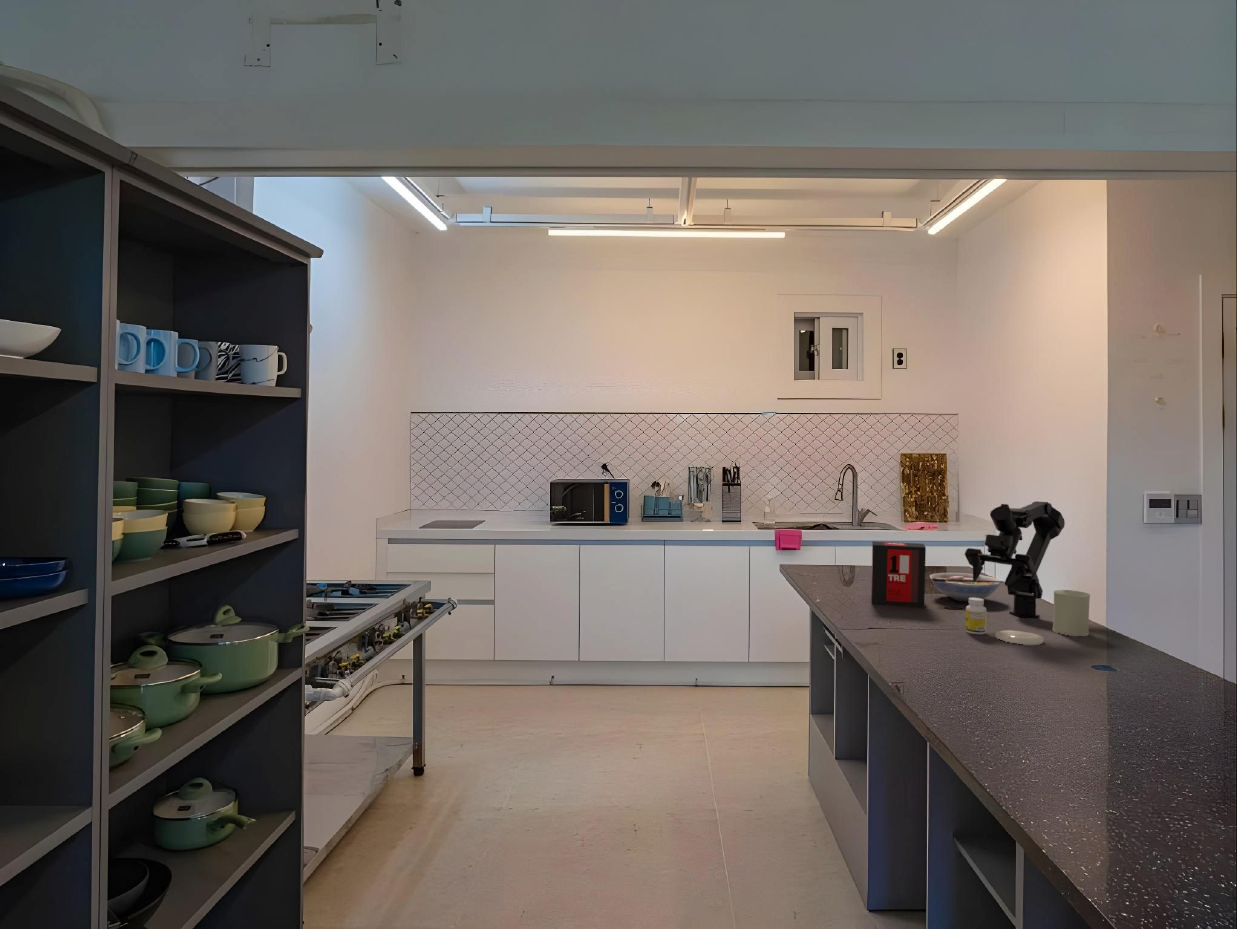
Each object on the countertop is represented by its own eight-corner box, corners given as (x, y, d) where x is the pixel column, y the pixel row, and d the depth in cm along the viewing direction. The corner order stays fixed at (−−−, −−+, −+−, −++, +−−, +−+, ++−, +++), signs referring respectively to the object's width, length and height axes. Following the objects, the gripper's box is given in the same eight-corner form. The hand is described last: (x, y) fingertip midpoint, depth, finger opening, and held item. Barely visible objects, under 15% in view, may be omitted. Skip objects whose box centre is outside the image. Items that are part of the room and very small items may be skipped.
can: (1079, 629, 230) (1080, 588, 229) (1095, 637, 221) (1096, 595, 220) (1046, 628, 231) (1047, 587, 230) (1061, 636, 222) (1062, 594, 221)
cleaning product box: (922, 601, 266) (923, 543, 265) (924, 607, 257) (925, 547, 256) (871, 598, 270) (872, 541, 270) (871, 603, 262) (872, 544, 261)
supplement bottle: (968, 629, 229) (969, 596, 228) (988, 632, 225) (989, 598, 225) (962, 632, 225) (963, 599, 224) (983, 635, 221) (983, 601, 221)
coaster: (986, 634, 223) (986, 630, 223) (1025, 633, 224) (1025, 630, 224) (1012, 645, 211) (1012, 642, 211) (1053, 644, 212) (1053, 641, 212)
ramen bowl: (989, 593, 280) (990, 571, 280) (1015, 608, 257) (1016, 583, 257) (917, 591, 282) (918, 569, 282) (937, 605, 260) (937, 581, 259)
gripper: (968, 521, 239) (949, 561, 233) (1032, 527, 225) (1014, 569, 219) (979, 544, 245) (961, 584, 238) (1042, 552, 231) (1025, 594, 224)
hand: (989, 582), depth 230 cm, fingers open, 9 cm apart
